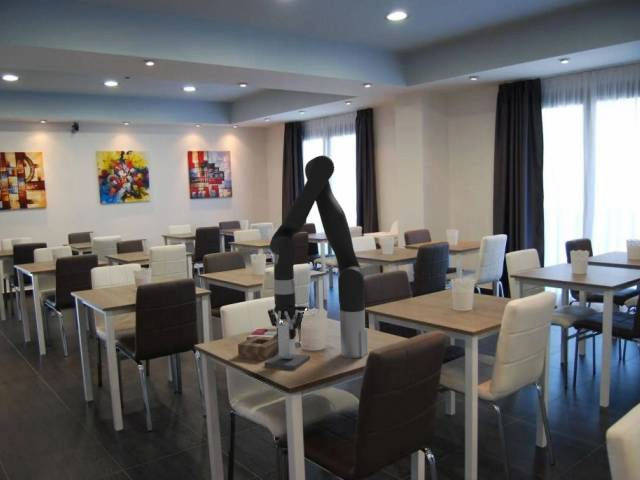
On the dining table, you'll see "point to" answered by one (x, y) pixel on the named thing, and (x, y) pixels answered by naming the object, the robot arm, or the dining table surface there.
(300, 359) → the mat
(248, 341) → the socket block
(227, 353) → the dining table surface
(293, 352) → the peg
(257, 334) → the calculator
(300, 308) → the wine glass
